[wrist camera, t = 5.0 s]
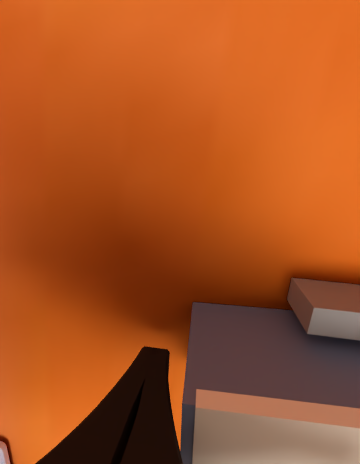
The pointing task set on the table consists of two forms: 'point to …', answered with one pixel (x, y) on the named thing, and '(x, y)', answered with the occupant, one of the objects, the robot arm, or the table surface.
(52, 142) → the table surface
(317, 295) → the book rack
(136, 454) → the robot arm
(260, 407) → the boxed book
